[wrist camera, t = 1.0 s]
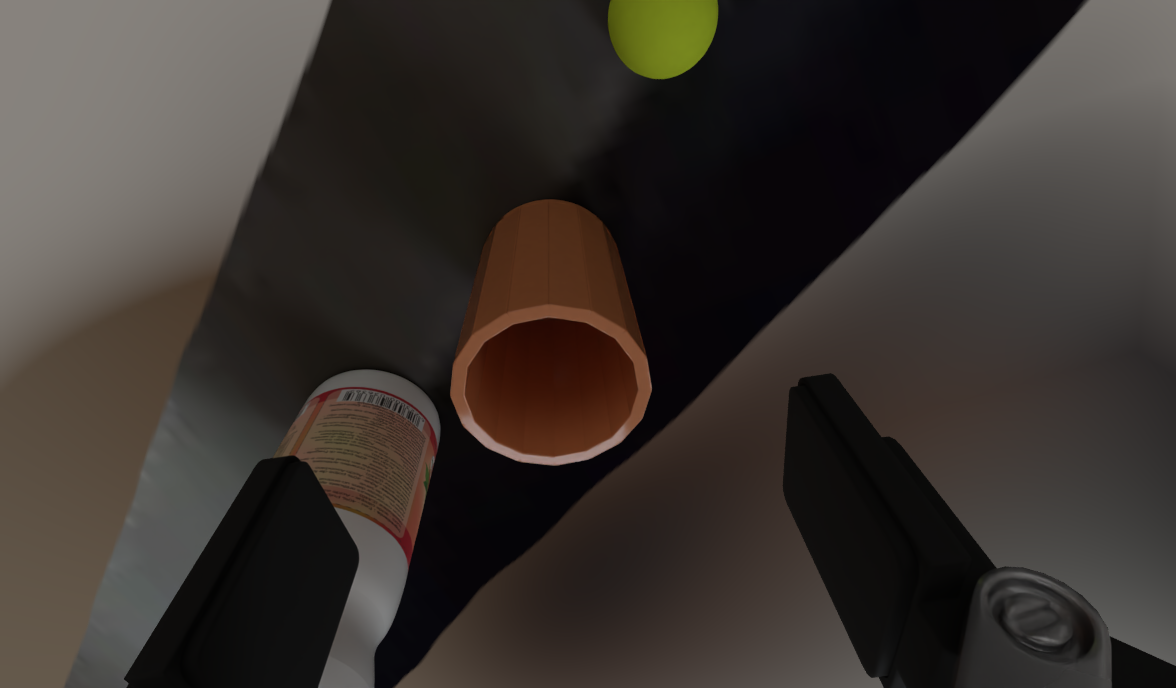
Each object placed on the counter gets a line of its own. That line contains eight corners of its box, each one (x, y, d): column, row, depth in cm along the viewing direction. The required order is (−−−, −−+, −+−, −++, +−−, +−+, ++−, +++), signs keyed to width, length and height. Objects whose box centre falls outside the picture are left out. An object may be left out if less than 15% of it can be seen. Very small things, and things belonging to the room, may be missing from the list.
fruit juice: (411, 350, 37) (170, 977, 13) (462, 449, 42) (352, 1032, 18) (281, 383, 38) (-161, 1030, 14) (347, 476, 43) (101, 1069, 19)
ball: (699, -56, 26) (728, -65, 22) (706, 60, 29) (734, 72, 24) (595, -32, 26) (604, -37, 22) (612, 81, 29) (623, 96, 25)
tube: (605, 185, 32) (635, 286, 21) (627, 309, 36) (661, 446, 25) (464, 215, 32) (421, 329, 21) (503, 334, 37) (484, 479, 26)
